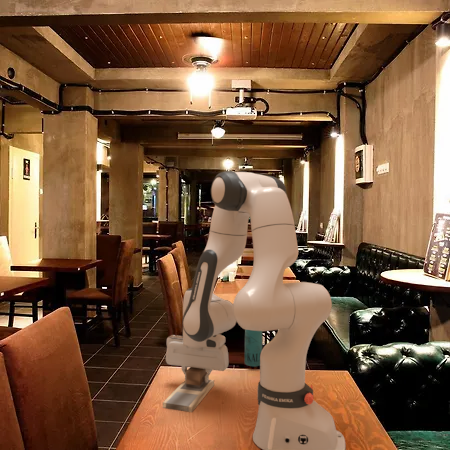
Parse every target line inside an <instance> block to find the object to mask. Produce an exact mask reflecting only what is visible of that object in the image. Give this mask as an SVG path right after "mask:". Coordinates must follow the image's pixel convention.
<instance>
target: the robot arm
mask: <svg viewBox="0 0 450 450" xmlns="http://www.w3.org/2000/svg"><path fill="white" fill-rule="evenodd" d="M210 195H211V199H212V202H213V204H214V207H213V212H212V215H211V222H210V225H209V227H210V228H209V233H208V234H209V235H208V239H207V242H206V246H205V248H204V250H203V251H202V254H201V255H200V257H199V260H198V263H197V265H196V266H197V267H196V270H195V274H194V279H193V283H192V286H191V287H190V288H187V290H186V291H185V292H184V295H183V300H182V321H181V322H182V335H175V334H170V335H169V336H168V337H167V338H166V354H165V362H166V364H167V365H171V366H177V367H178V366H180V367H181V371H182V373H183V374H184V381H185V380H186V371H187V370H188V368H190V367H194V368H202V369H206V372H207V374H206V375H204V376H203V377H202V379H203V380H202V382H206V383H207V382H208V380H210V379H209V376H210V375H211V372H212V371H219V372H224V371H225V370H226V369H228V367H229V362H230V360H229V352H228V350H229V349H228V347H227V346H226V344H225V343H226V339H227V338H226V337H225V336H224V335H222V334H223V333H224V332H227V331H229V330H232V329H233V328H234V327H235V326H236V324H238V326H240V328H242V329H243V330H245V329H246V330H253V331H262V332H269V331H277V332H276V334H275V336H274V337H273V338H272V339H271V341H269V342H268V343H266V344H265V345H263V347H262V348H263V349H262V351H261V355H260V365H259V381H258V383H257V384H258V385H257V394H256V395H257V405H258V412H257V419H256V423H255V427H254V431H253V433H252V441H253V442H254V444H255V445H256V446H257V447H258V448H259V449H262V450H347V449H346V447H347V446H346V438H345V437H344V435H343V434H342V432H340V430H337V428H336V425H335V424H336V423H335V420H334V417H333V415H331V413H330V412H329V411H327V410H326V409H325V408H324V407H323V406H321V405H320V403H318V402H316V401H315V399H314V398H315V397H314V386H313V384H311V385H310V386H309V384H307V383H306V366H307V365H306V363H307V354H308V350H309V347H310V344H311V341H312V339H313V338H314V335H315V334H316V332H317V331H318V329H319V328H320V326H321V325H322V324H323V323H324V322H326V320H327V319H328V318H329V317H330V315H331V312H332V305H333V304H332V302H333V301H332V298H331V295H330V293H329V291H328V290H327V289H326V288H325V287H324V285H322V284H320V283H313V282H307V281H301V282H300V281H299V282H298V281H296V282H284V273H285V270H286V269H288V268H290V267H291V266H292V265H293V264H294V263H295V262H296V261H297V259H298V255H299V247H298V240H297V234H296V226H295V221H294V215H293V210H292V208H291V203H290V200H289V198H288V194H287V186H286V185H285V183H284V182H283V180H281V179H279V178H277V177H275V176H272V175H264V174H259V173H254V172H250V171H249V172H247V171H234V170H233V171H232V170H227V171H222V172H221V171H220V172H219V173H218V174H216V176H215V177H214V178H213V180H212V183H211V187H210ZM249 220H250V227H251V238H252V247H253V250H252V251H253V263H252V264H253V265H252V269H251V272H250V273H251V274H250V275H249V278H248V280H247V281H246V283H245V285H244V286H243V287H242V288H241V289H240V290H239V291H238V292H237V293H236V294H235V297H234V299H233V303H232V302H231V301H230V300H228V299H223V298H222V297H220V296H218V295H216V294H215V293H214V290H215V285H216V282H217V279H218V276H219V275H221V273H222V272H223V271H224V270H225V269H226V268H228V267H229V266H230V265H231V264H233V263H235V262H236V261H237V260H239V259H241V256H243V254H244V251H245V249H246V244H247V236H248V227H249V225H248V224H249Z"/></svg>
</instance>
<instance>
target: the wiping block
mask: <svg viewBox="0 0 450 450" xmlns="http://www.w3.org/2000/svg"><path fill="white" fill-rule="evenodd" d="M206 374H207V372H206V369H202V368H194V367H188V368H187V371H186V387H190V388H198V389H200V388H201V387H202V386H203V385H204V384H205V382H202V380H203V379H202V377H203V376H204V375H206Z"/></svg>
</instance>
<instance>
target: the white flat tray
mask: <svg viewBox="0 0 450 450" xmlns="http://www.w3.org/2000/svg"><path fill="white" fill-rule="evenodd" d="M214 386H215V379H209V380H208V382H207V383H206V382H205V384H204V385H203V386H202V387H201V388H200V389H198V388H190V387H186V380H185V379H184V380H183V381H182V383H181V384H180V385H178V386H177V388H176V389H174V390H173V391H172V393H171V394H169V396H168V397H167V398H165V400H164V401H163V402H162V409H168V410H176V411H182V412H189V413H193V412H194V411H195V409H196V408H197V407H198V405H199V404H200V403H201V401H203V399H204V398H205V397H206V396H207V394H208V393H209V392H210V391H211V389H212V388H213V387H214Z"/></svg>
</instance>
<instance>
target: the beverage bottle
mask: <svg viewBox="0 0 450 450" xmlns="http://www.w3.org/2000/svg"><path fill="white" fill-rule="evenodd" d="M263 348H264V345H263V331H253V330H246V329H244V354H243V355H244V356H243V357H244V359H243V361H244V364H245V365H246V366H250V367H260V355H261V351H262V349H263Z"/></svg>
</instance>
